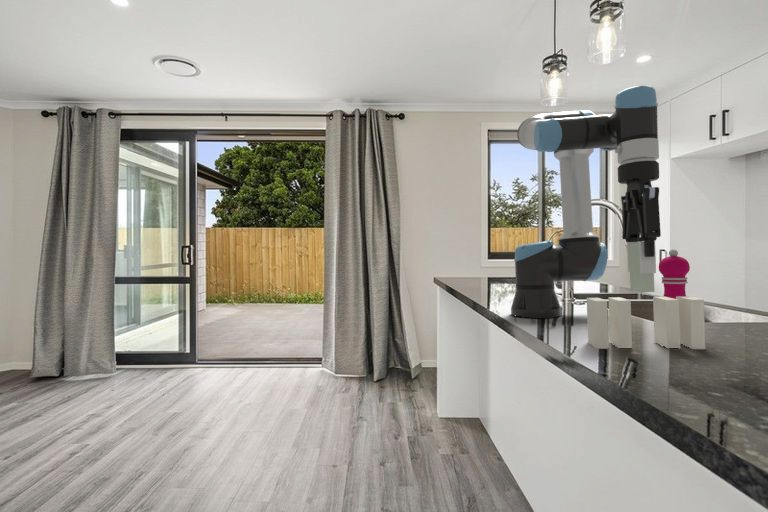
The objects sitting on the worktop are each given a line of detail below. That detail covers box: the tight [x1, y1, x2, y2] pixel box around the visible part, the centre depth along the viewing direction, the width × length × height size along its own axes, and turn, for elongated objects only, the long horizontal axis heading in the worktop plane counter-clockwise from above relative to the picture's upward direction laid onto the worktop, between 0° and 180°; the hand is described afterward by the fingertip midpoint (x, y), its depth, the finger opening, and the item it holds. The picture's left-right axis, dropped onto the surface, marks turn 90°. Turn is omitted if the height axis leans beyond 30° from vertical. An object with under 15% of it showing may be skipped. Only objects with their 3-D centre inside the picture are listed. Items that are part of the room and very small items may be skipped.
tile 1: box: [586, 297, 610, 350], centre depth 92 cm, size 6×2×10 cm, turn 169°
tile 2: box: [608, 296, 633, 349], centre depth 92 cm, size 6×2×10 cm, turn 169°
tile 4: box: [652, 296, 681, 350], centre depth 90 cm, size 6×2×10 cm, turn 169°
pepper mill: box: [658, 249, 691, 299], centre depth 100 cm, size 7×7×20 cm
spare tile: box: [629, 244, 656, 293], centre depth 91 cm, size 6×2×10 cm, turn 169°
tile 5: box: [676, 295, 706, 350], centre depth 89 cm, size 6×2×10 cm, turn 169°
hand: (641, 272), depth 91 cm, fingers closed on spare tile, 6 cm apart
